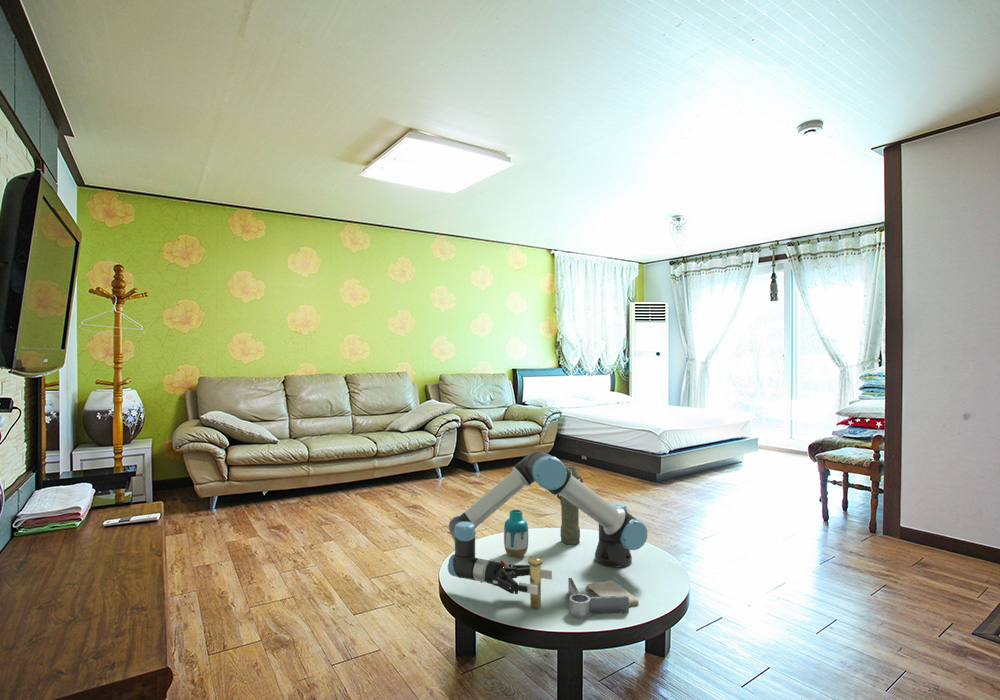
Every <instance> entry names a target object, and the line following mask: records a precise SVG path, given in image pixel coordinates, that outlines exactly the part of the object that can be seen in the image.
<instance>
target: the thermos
mask: <svg viewBox="0 0 1000 700" xmlns="http://www.w3.org/2000/svg"><path fill="white" fill-rule="evenodd" d="M565 466H567V467H568V468H569V469H570V470H571V471H572V476H573V477H575V478H576V479H577V480H579V481H580V482H581V483H583V482H584V481H583V480H584V479H583V478H582V477H581V476H580V475H579V472H578V468H577V467H576V466H575V465H572V464H571V465H569V464H568V465H565ZM583 484H584V483H583ZM556 497H557V499H558V500H559V501H560V502H559V503H560V506H561V512H560V513H561V525H560V543H561V544H562V543H563V544H562V545H564V544H565V546H568V545H574V546H577V544H578V545H580V544H579V543H581V542H580V538H581V529H580V526H579V524H580V523H579V522H580V520H579V519H580V518H579V517H580V516H579V510H580V509H579V508H577V507H576V506H575V505H573V504H572V503H571V502H569V501H568V500H567V499H565V498H564V497H562V496H561V495H560V494H558V495H556Z"/></svg>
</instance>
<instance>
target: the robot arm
mask: <svg viewBox="0 0 1000 700" xmlns="http://www.w3.org/2000/svg"><path fill="white" fill-rule="evenodd" d="M512 467H513V468H512V471H511V472H509V474H507V476H505V477H504V478H503V479H502V480H500V481H499V482H498V483H496V484H495V486H493V487H492V488H491V489H490V490H488V492H486V493H485V494H484V495H483V496H481V497H480V498H479V499H478V500H476V502H475V503H474V504H472V505H471V506H469V508H467V509H466V510H465V511H464V512H462V513H461V514H460V515H455V516H453V517H452V518H451V519H449V522H448V530H449V535H451V537H452V539H453V542H454V553H453V554H452V555H451V556H450V557H449V559H448V564H447V570H448V573H449V574H450V576H453V577H456V578H459V579H466V580H471V581H474V582H480V583H486V584H490V585H492V586H494V587H498V588H500V589H502V590H504V591H506V592H507V593H509V594H515V595H519V593H520V592H521V593H525V594H529V595H530V594H535V595H537V594H538V586H537V585H532V584H530V583H526V582H521V581H519V582H517V581H515V580H514V579H517V578H518V577H527V576H530V564H512V563H508V564H507V565H508V567H505V568H503V567H502V565H501V563H500V561H495V560H489V559H486V558H485V559H483V558H478V557H476V534H477V533H476V528H477V527H479V525H481V524H482V523H483V522H484V521H486V520H487V519H488V518H490V516H491V515H493V513H495V512H496V511H497V510H498V509H500V508H501V507H502V506H503V505H505V503H507V502H508V501H509V500H510V499H511V498H513V496H514V495H516V494H517V493H519V492H520V491H521V490H522V489H523V488H524V487H530V486H531V485H532V484H533V483H536V484H538V486H540V487H541V488H543V489H545V490H546V491H548V493H550V494H552V495H553V496H557V495H558V494H559V496H560V495H561V496H562V497H564V498H565V499H567V500H568V501H569V502H571V503H572V504H573V505H575V506H576V507H577V508H579V510H580V511H581V512H583V513H584V514H585V515H587V516H588V517H590V518H591V519H592V520H594V521H595V522H597V523H598V542H597V545H596V550H595V552H594V560H595V562H596V563H597V564H599V565H602V566H605V567H609V566H610V568H611V567H613V568H622V567H627V566H629V565H631V564H632V563H633V559H632V558H633V557H632V553H631V551H637V550H639V549H641V548H642V547H643V546H644V545H645V544H646V542H647V540H648V535H649V534H648V527H647V526H646V525H645V523H643V521H641V520H640V519H637V518H636V517H634V516H633V515H632V514H631V513H630V512H629V511H628V509H627V508H628V507H627V506H626V505H625V504H622V503H621V504H620V503H609V502H608V501H607V500H605V499H604V498H603V497H601V496H600V495H599V494H598V493H596V492H595V491H593V490H592V489H591V488H589V487H588V486H587V485H585V483H581V482H580V479H578V480H577V479H576V478H575V477H573V476H572V471H571V470H570V469H569V468H568V467H567V466H566V465H565V464H564V463H563V462H562V461H561V460H560V459H559V458H557V457H556V456H553V455H551V454H549V453H547V452H545V451H541V450H537V451H533V452H531V453H529V454H527V456H525V457H523V458H522V459H521V460H520V461H518V462H517V464H515V465H514V466H512ZM541 579H545V580H553V571H552V570H548V569H542V568H541Z"/></svg>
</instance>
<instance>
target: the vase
mask: <svg viewBox="0 0 1000 700" xmlns="http://www.w3.org/2000/svg"><path fill="white" fill-rule="evenodd" d="M508 516H509V518H507V519H506V520H505V521H504V524H503V525H504V527H503V544H504V545H503V546H504V550H505V552H506V554H507V555H508V556H510V557H514V558H519V557H522V556H525V554H527V552H528V548H529V526H528V522H527V520H526V519H525V518H524V516H523V510H521V509H517V508H516V509H515V508H514V509H511V510H509V515H508Z"/></svg>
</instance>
